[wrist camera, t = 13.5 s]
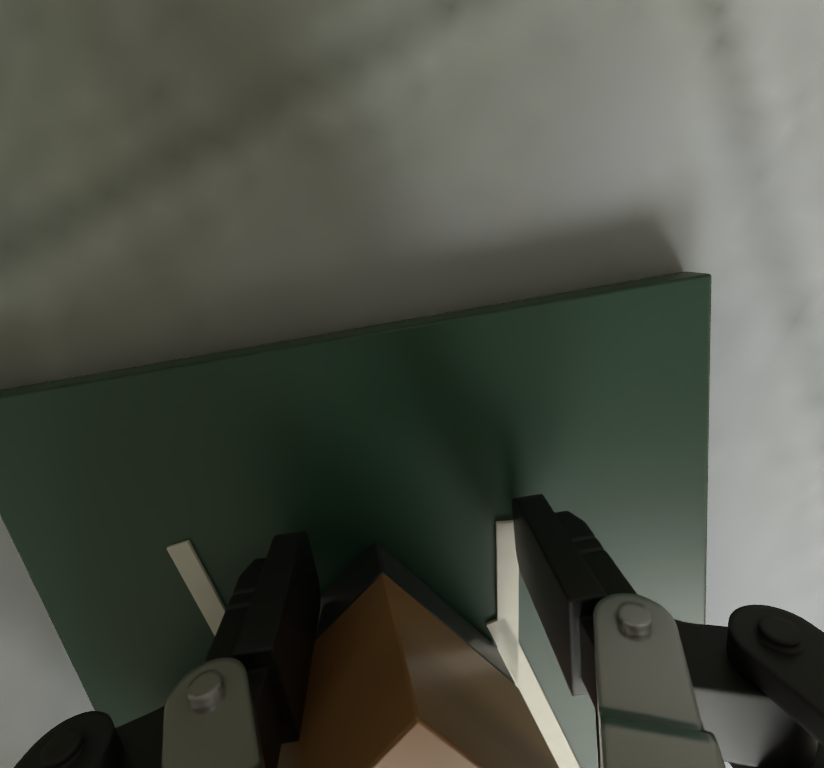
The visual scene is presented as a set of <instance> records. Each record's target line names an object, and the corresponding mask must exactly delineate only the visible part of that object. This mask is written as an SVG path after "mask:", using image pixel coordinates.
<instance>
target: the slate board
mask: <svg viewBox="0 0 824 768" xmlns="http://www.w3.org/2000/svg"><path fill="white" fill-rule="evenodd" d="M710 319H711V275H710V274H706V273H695V272H680V273H674V274H669V275H663V276H657V277H651V278H646V279H640V280H634V281H628V282H623V283H617V284H611V285H605V286H599V287H594V288H588V289H582V290H576V291H571V292H565V293H559V294H553V295H548V296H542V297H536V298H530V299H524V300H519V301H513V302H507V303H501V304H496V305H490V306H484V307H478V308H473V309H467V310H461V311H455V312H449V313H444V314H438V315H432V316H426V317H421V318H415V319H409V320H403V321H398V322H392V323H386V324H380V325H374V326H369V327H363V328H357V329H351V330H346V331H340V332H334V333H328V334H323V335H317V336H311V337H305V338H299V339H294V340H288V341H282V342H276V343H271V344H265V345H259V346H253V347H248V348H242V349H236V350H230V351H225V352H219V353H213V354H207V355H201V356H196V357H190V358H184V359H178V360H173V361H167V362H161V363H155V364H150V365H144V366H138V367H132V368H126V369H121V370H115V371H109V372H103V373H98V374H92V375H86V376H80V377H75V378H69V379H63V380H57V381H51V382H46V383H40V384H34V385H28V386H23V387H17V388H11V389H5V390H0V515H1V517H2V519H3V521H4V523H5V525H6V527H7V529H8V531H9V533H10V536H11V538H12V540H13V542H14V544H15V546H16V548H17V550H18V552H19V554H20V556H21V558H22V560H23V562H24V564H25V567H26V569H27V571H28V573H29V575H30V577H31V579H32V581H33V583H34V585H35V587H36V589H37V591H38V593H39V596H40V598H41V600H42V602H43V604H44V606H45V608H46V610H47V612H48V614H49V616H50V618H51V620H52V622H53V625H54V627H55V629H56V631H57V633H58V635H59V637H60V639H61V641H62V643H63V645H64V647H65V649H66V651H67V654H68V656H69V658H70V660H71V662H72V664H73V666H74V668H75V670H76V672H77V674H78V676H79V678H80V680H81V682H82V685H83V687H84V689H85V691H86V693H87V695H88V697H89V699H90V701H91V703H92V705H93V707H94V709H95V711H101V712H104V713H106V714H108V715H109V716H110V717H111V719H112V721H113V723H114V726H115V728H117V727H119V726H121V725H123V724H126V723H128V722H130V721H132V720H135V719H137V718H139V717H142V716H144V715H146V714H148V713H151V712H153V711H155V710H157V709H159V708H161V707H163V706H165V704H166V701H167V698H168V696H169V694H170V692H171V691H172V689H173V688H174V686H175V685H176V684H177V683H178V682H179V681H180V680H181V679H182V678H183V677H184V676H185V675H186V674H187V673H188V672H190V671H191V670H192V669H194V668H196V667H197V666H199V665H201V664H203V663H204V662H205V660H206V657H207V655H208V652H209V650H210V647H211V645H212V643H213V640H214V638H215V635H216V633H217V630H218V628H219V625H220V623H221V621H222V618H223V616H224V613H225V611H226V610H227V606H228V603H229V601H230V599H231V596H233V591H234V589H235V586H236V584H237V581H238V579H239V576H240V575H241V574H242V573H243V571H244V570H245V569H246V568H247V567H248V566H249V565H250V564H251V563H252V562H253V560H254V559H260V558H266V557H267V554H268V551H269V549H270V546H271V543H272V540H273V537H274V536H275V535H279V534H285V533H292V532H298V531H306V532H307V534H308V537H309V541H310V545H311V550H312V554H313V558H314V562H315V566H316V571H317V575H318V579H319V584H320V594H321V596H322V595H323V594H324V593H325V592H326V591H327V590H328V589H329V588H330V587H331V586H332V585H333V584H334V583H335V582H336V581H337V580H338V579H339V578H340V577H341V576H342V575H343V574H344V573H345V572H346V571H347V570H348V569H349V568H350V567H351V566H352V565H353V564H354V563H355V562H356V561H357V560H358V559H359V558H360V557H361V556H362V555H363V554H364V553H365V552H366V551H367V550H368V549H369V548H370V547H371V546H372V545H373V544H374V543H378V544H380V545H381V546H382V547H383V548H384V549H385V550H387V551H388V552H389V553H390V554H391V555H392V556H393V557H395V558H396V559H397V560H398V561H399V562H400V563H401V564H403V565H404V566H405V567H406V568H407V569H408V570H409V571H411V572H412V573H413V574H414V575H415V576H416V577H417V578H419V579H420V580H421V581H422V582H423V583H424V584H425V585H427V586H428V587H429V588H430V589H431V590H432V591H433V592H435V593H436V594H437V595H438V596H439V597H440V598H441V599H443V600H444V601H445V602H446V603H447V604H448V605H449V606H451V607H452V608H453V609H454V610H455V611H456V612H457V613H459V614H460V615H461V616H462V617H463V618H464V619H465V620H467V621H468V622H469V623H470V624H471V625H472V626H473V627H475V628H476V629H477V630H478V631H479V632H480V633H482V634H483V635H484V636H485V637H486V638H487V639H488V640H490V641H491V642H492V643H493V644H494V645H495V646H496V647H497V649H498V651H499V653H500V655H501V657H502V659H503V661H504V663H505V665H506V667H507V669H508V671H509V673H510V674H511V676H512V678H513V680H514V682H515V686H517V688H518V689H519V691H520V693H521V695H522V697H523V699H524V701H525V703H526V705H527V707H528V709H529V711H530V713H531V715H532V717H533V719H534V721H535V722H536V724H537V726H538V728H539V730H540V732H541V734H542V736H543V738H544V740H545V742H546V744H547V746H548V748H549V750H550V752H551V754H552V755H553V757H554V759H555V761H556V763H557V765H558V767H559V768H598V762H597V743H596V723H595V707H594V705H593V703H592V701H591V699H590V696H589V694H584V695H578V696H572V694H571V692H570V690H569V687H568V685H567V682H566V680H565V678H564V675H563V673H562V671H561V668H560V666H559V663H558V661H557V659H556V656H555V654H554V652H553V649H552V647H551V644H550V642H549V640H548V637H547V635H546V633H545V630H544V628H543V625H542V623H541V621H540V618H539V616H538V614H537V611H536V609H535V606H534V604H533V602H532V599H531V597H530V595H529V592H528V590H527V587H526V585H525V583H524V580H523V578H522V575H521V573H520V569H519V566H518V561H517V556H516V549H515V536H514V524H513V512H512V500H513V498H518V497H525V496H531V495H537V494H543V495H544V497H545V498H546V500H547V501H548V503H549V504H550V506H551V507H552V509H553V511H554V512H562V511H569V512H571V513H572V514H574V515H575V516H577V517H579V518H580V519H582V520H583V521H585V522H586V524H587V525H588V527H589V528H590V529H591V531H592V532H593V534H594V535H595V538H597V539H598V540H599V542H600V543H601V545H602V546H603V548H604V551H605V550H606V551H607V553H608V554H609V556H610V557H611V558H612V560H613V561H614V563H615V564H616V565H617V567H618V568H619V569H620V571H621V572H622V574H623V575H624V576H625V578H626V579H627V581H628V582H629V583H630V585H631V586H632V587H633V589H634V590H635V592H636V593H637V594H638V595H641V596H644V597H647V598H649V599H651V600H653V601H655V602H657V603H658V604H660V605H661V606H663V607H664V608H665V609H666V610H667V611H668V612H669V613H670V614H671V615H672V617H673V618H674V619H675V620H679V621H683V622H688V623H694V624H704V625H705V604H706V547H707V490H708V433H709V376H710Z"/></svg>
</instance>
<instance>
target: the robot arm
mask: <svg viewBox="0 0 824 768" xmlns="http://www.w3.org/2000/svg"><path fill="white" fill-rule="evenodd" d="M512 512H513V524H514V536H515V549H516V556H517V561H518V566H519V569H520V573H521V575H522V578H523V580H524V583H525V585H526V587H527V590H528V592H529V595H530V597H531V599H532V602H533V604H534V606H535V609H536V611H537V614H538V616H539V618H540V621H541V623H542V625H543V628H544V630H545V633H546V635H547V637H548V640H549V642H550V644H551V647H552V649H553V652H554V654H555V656H556V659H557V661H558V663H559V666H560V668H561V671H562V673H563V675H564V678H565V680H566V682H567V685H568V687H569V690H570V692H571V694H572V696H578V695H584V694H589V696H590V699H591V701H592V703H593V705H594V707H595V723H596V743H597V762H598V768H725V764H724V761H725V762H729V763H730V765H731V766H732V767H733V768H824V632H822V631H821V630H819V629H818V628H816V627H815V626H814V625H812V624H811V623H809V622H808V621H806V620H804V619H803V618H801V617H799V616H797V615H795V614H793V613H790V612H788V611H785V610H782V609H779V608H776V607H771V606H765V605H748V606H743V607H740V608H738V609H736V610H735V611H734V612H733V613H732V614H731V615H730V617H729V622H728V627H724V626H714V625H704V624H694V623H688V622H683V621H679V620H675V619H674V618H673V617H672V615H671V614H670V613H669V612H668V611H667V610H666V609H665V608H664V607H663V606H661V605H660V604H658V603H657V602H655V601H653V600H651V599H649V598H647V597H644V596H641V595H638V594H637V593H636V592H635V590H634V589H633V587H632V586H631V585H630V583H629V582H628V581H627V579H626V578H625V576H624V575H623V574H622V572H621V571H620V569H619V568H618V567H617V565H616V564H615V563H614V561H613V560H612V558H611V557H610V556H609V554H608V553H607V551H606V550H605V551H604V548H603V546H602V545H601V543H600V542H599V540H598V539H597V538H595V535H594V534H593V532H592V531H591V529H590V528H589V527H588V525H587V524H586V522H585V521H583V520H582V519H580V518H579V517H577V516H575V515H574V514H572V513H571V512H569V511H562V512H554V511H553V509H552V507H551V506H550V504H549V503H548V501H547V500H546V498H545V497H544V495H543V494H537V495H531V496H525V497H518V498H513V500H512ZM320 604H321V594H320V584H319V579H318V575H317V571H316V566H315V562H314V558H313V554H312V550H311V545H310V541H309V537H308V534H307V532H306V531H298V532H292V533H285V534H279V535H275V536H274V537H273V540H272V543H271V546H270V549H269V551H268V554H267V557H266V558H260V559H254V560H253V562H252V563H251V564H250V565H249V566H248V567H247V568H246V569H245V570H244V571H243V573H242V574H241V575H240V576H239V579H238V581H237V584H236V586H235V589H234V591H233V596H231V599H230V601H229V603H228V606H227V610H226V611H225V613H224V616H223V618H222V621H221V623H220V625H219V628H218V630H217V633H216V635H215V638H214V640H213V643H212V645H211V647H210V650H209V652H208V655H207V657H206V660H205V662H204V663H203V664H201V665H199V666H197V667H196V668H194V669H192V670H191V671H190V672H188V673H187V674H186V675H185V676H184V677H183V678H182V679H181V680H180V681H179V682H178V683H177V684H176V685H175V686H174V688H173V689H172V691H171V692H170V694H169V696H168V698H167V701H166V704H165V706H163V707H161V708H159V709H157V710H155V711H153V712H151V713H148V714H146V715H144V716H142V717H139V718H137V719H135V720H132V721H130V722H128V723H126V724H123V725H121V726H119V727H117V728H115V726H114V723H113V721H112V719H111V717H110V716H109V715H108V714H106V713H104V712H101V711H90V712H85V713H82V714H79V715H76V716H74V717H71V718H69V719H67V720H65V721H64V722H62V723H60V724H59V725H57V726H56V727H54V728H53V729H51V730H50V731H49V732H47V733H46V734H45V735H44V736H43V737H41V738H40V739H39V740H38V741H37V742H36V743H35V744H34V745H33V746H32V747H31V748H30V749H29V751H28V752H27V753H26V754H25V755H24V756H23V757H22V759H21V760H20V761H19V762H18V763H17V764H16V766H15V767H14V768H277V765H278V760H279V755H280V750H281V744H284V743H290V742H296V741H298V740H299V737H300V730H301V724H302V718H303V712H304V706H305V700H306V694H307V688H308V682H309V676H310V670H311V663H312V657H313V651H314V644H315V638H316V632H317V625H318V619H319V612H320Z"/></svg>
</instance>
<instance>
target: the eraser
mask: <svg viewBox="0 0 824 768" xmlns="http://www.w3.org/2000/svg"><path fill="white" fill-rule="evenodd" d="M277 768H559V767H558V765H557V763H556V761H555V759H554V757H553V755H552V754H551V752H550V750H549V748H548V746H547V744H546V742H545V740H544V738H543V736H542V734H541V732H540V730H539V728H538V726H537V724H536V722H535V721H534V719H533V717H532V715H531V713H530V711H529V709H528V707H527V705H526V703H525V701H524V699H523V697H522V695H521V693H520V691H519V689H518V688H517V686H515V682H514V680H513V678H512V676H511V674H510V673H509V671H508V669H507V667H506V665H505V663H504V661H503V659H502V657H501V655H500V653H499V651H498V649H497V647H496V646H495V645H494V644H493V643H492V642H491V641H490V640H488V639H487V638H486V637H485V636H484V635H483V634H482V633H480V632H479V631H478V630H477V629H476V628H475V627H473V626H472V625H471V624H470V623H469V622H468V621H467V620H465V619H464V618H463V617H462V616H461V615H460V614H459V613H457V612H456V611H455V610H454V609H453V608H452V607H451V606H449V605H448V604H447V603H446V602H445V601H444V600H443V599H441V598H440V597H439V596H438V595H437V594H436V593H435V592H433V591H432V590H431V589H430V588H429V587H428V586H427V585H425V584H424V583H423V582H422V581H421V580H420V579H419V578H417V577H416V576H415V575H414V574H413V573H412V572H411V571H409V570H408V569H407V568H406V567H405V566H404V565H403V564H401V563H400V562H399V561H398V560H397V559H396V558H395V557H393V556H392V555H391V554H390V553H389V552H388V551H387V550H385V549H384V548H383V547H382V546H381V545H380V544H378V543H374V544H373V545H372V546H371V547H370V548H369V549H368V550H367V551H366V552H365V553H364V554H363V555H362V556H361V557H360V558H359V559H358V560H357V561H356V562H355V563H354V564H353V565H352V566H351V567H350V568H349V569H348V570H347V571H346V572H345V573H344V574H343V575H342V576H341V577H340V578H339V579H338V580H337V581H336V582H335V583H334V584H333V585H332V586H331V587H330V588H329V589H328V590H327V591H326V592H325V593H324V594H323V595H322V596H321V604H320V612H319V619H318V625H317V632H316V638H315V644H314V651H313V657H312V663H311V670H310V676H309V682H308V688H307V694H306V700H305V706H304V712H303V718H302V724H301V730H300V737H299V740H298V741H296V742H290V743H284V744H281V750H280V755H279V760H278V765H277Z"/></svg>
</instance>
